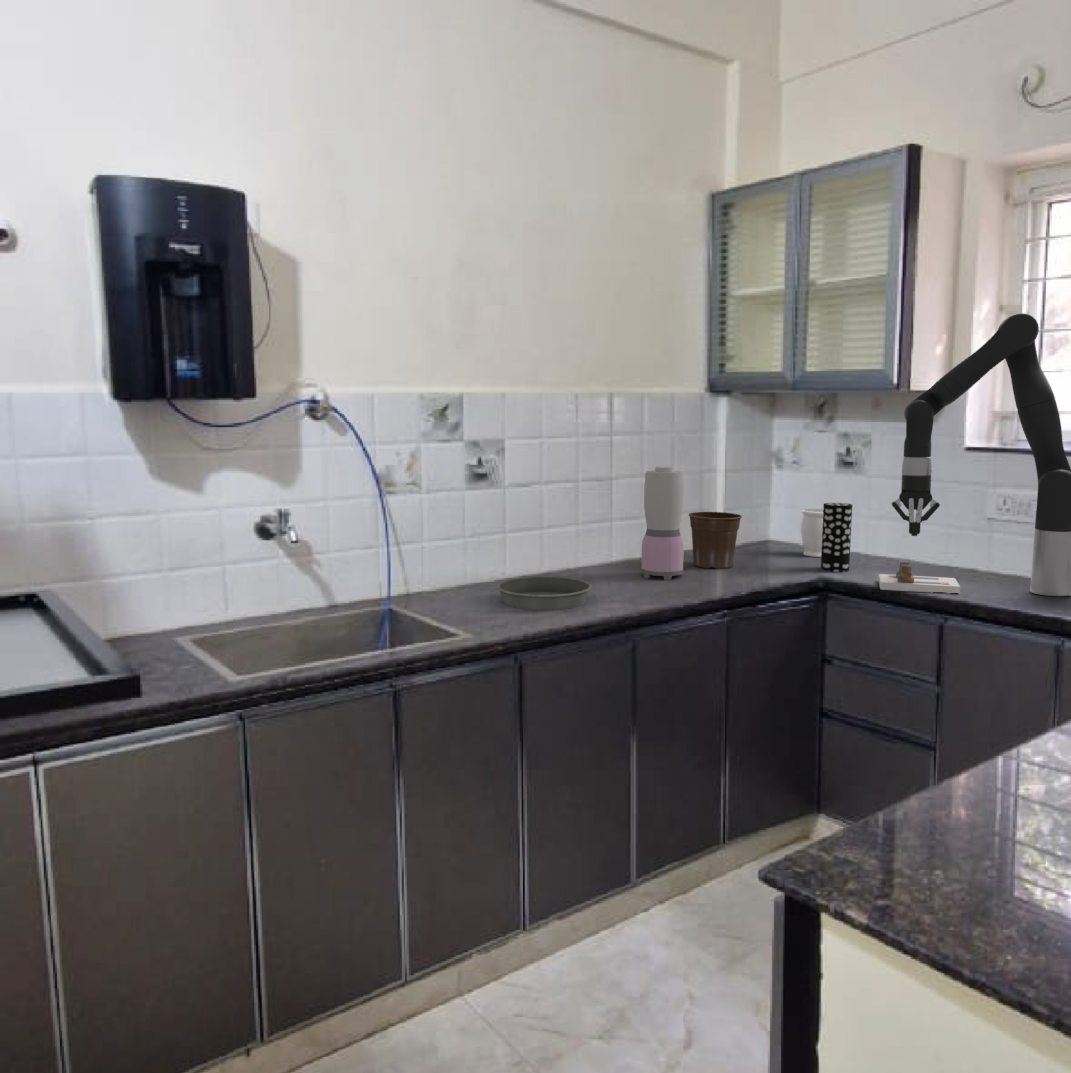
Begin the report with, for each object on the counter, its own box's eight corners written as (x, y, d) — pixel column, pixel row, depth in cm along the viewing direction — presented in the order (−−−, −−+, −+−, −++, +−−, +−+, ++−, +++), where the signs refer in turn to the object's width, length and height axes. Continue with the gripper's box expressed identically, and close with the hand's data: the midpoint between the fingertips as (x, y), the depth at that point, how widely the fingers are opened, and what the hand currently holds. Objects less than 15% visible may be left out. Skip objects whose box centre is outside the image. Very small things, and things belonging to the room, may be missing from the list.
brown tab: (912, 579, 262) (913, 564, 261) (913, 582, 258) (914, 566, 258) (897, 579, 263) (898, 564, 262) (898, 581, 259) (898, 566, 259)
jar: (812, 551, 324) (814, 508, 322) (839, 555, 316) (841, 510, 314) (793, 555, 317) (795, 510, 315) (820, 559, 310) (822, 513, 307)
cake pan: (476, 601, 245) (476, 584, 244) (544, 588, 262) (544, 572, 261) (544, 617, 228) (544, 598, 227) (611, 602, 245) (611, 584, 244)
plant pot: (750, 566, 296) (752, 514, 294) (719, 572, 285) (720, 519, 283) (708, 559, 308) (710, 510, 306) (676, 565, 297) (677, 514, 295)
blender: (675, 581, 271) (678, 469, 266) (635, 578, 276) (637, 467, 271) (691, 572, 285) (693, 465, 280) (652, 569, 290) (654, 464, 285)
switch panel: (954, 585, 266) (954, 577, 266) (959, 594, 254) (960, 586, 254) (878, 580, 272) (878, 573, 272) (880, 589, 260) (880, 581, 260)
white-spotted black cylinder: (850, 572, 286) (853, 506, 283) (821, 571, 287) (824, 505, 284) (847, 567, 294) (850, 503, 291) (819, 566, 295) (822, 502, 292)
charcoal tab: (910, 575, 268) (911, 560, 268) (911, 577, 265) (912, 562, 264) (895, 574, 269) (896, 559, 269) (896, 576, 266) (897, 562, 265)
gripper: (941, 472, 264) (938, 534, 266) (890, 472, 268) (888, 533, 270) (944, 474, 257) (941, 538, 259) (891, 474, 261) (889, 536, 263)
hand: (914, 535), depth 265 cm, fingers closed
